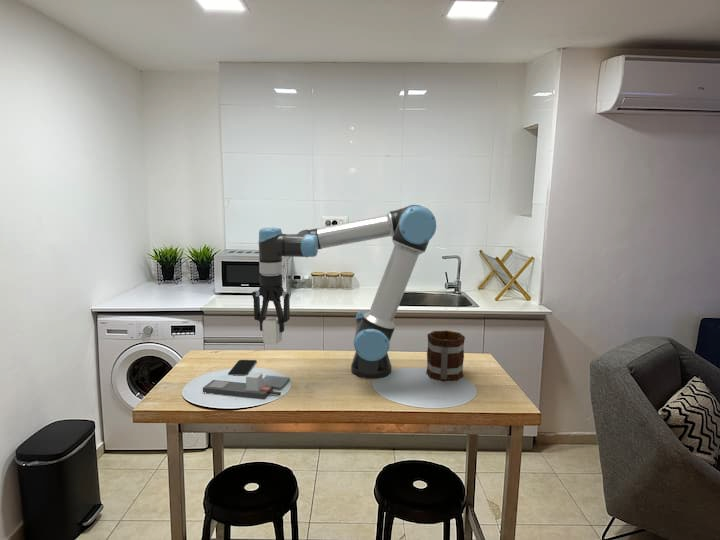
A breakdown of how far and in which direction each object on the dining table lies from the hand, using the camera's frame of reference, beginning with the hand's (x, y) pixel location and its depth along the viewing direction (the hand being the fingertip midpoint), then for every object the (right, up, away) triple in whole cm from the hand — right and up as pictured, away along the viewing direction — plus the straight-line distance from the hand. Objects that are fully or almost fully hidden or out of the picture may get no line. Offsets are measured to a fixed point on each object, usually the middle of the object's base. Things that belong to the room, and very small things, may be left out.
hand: (272, 340), depth 172 cm
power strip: (-9, -17, -5) cm, 20 cm away
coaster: (0, -16, +3) cm, 16 cm away
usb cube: (-5, -15, -6) cm, 17 cm away
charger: (0, -1, 0) cm, 1 cm away
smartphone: (-14, -14, +17) cm, 26 cm away
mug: (+61, -15, +9) cm, 63 cm away
